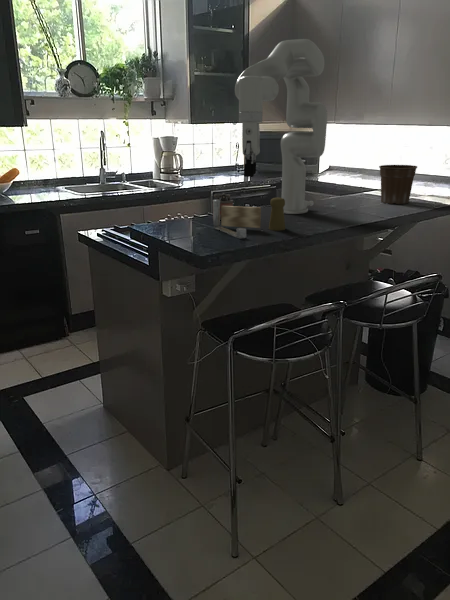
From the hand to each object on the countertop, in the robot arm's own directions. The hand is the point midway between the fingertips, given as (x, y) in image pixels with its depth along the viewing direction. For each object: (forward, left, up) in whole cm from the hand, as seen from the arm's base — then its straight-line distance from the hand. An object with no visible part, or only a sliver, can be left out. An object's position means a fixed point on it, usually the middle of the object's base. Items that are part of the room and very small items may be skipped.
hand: (250, 174), depth 170 cm
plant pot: (-89, -20, -20) cm, 94 cm away
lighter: (-3, -25, -20) cm, 32 cm away
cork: (-12, -1, -20) cm, 24 cm away
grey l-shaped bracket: (+6, -5, -20) cm, 21 cm away
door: (-1, -8, -19) cm, 20 cm away
